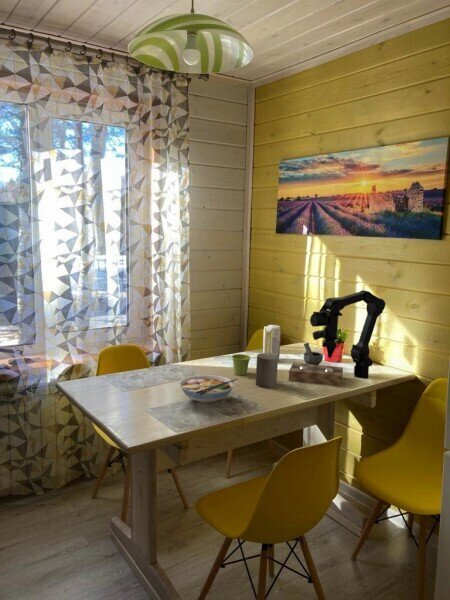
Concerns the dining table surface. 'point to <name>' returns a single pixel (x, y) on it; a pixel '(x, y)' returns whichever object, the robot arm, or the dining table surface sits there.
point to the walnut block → (316, 374)
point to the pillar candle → (266, 370)
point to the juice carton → (271, 340)
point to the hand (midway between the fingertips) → (329, 357)
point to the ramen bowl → (206, 387)
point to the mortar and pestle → (312, 356)
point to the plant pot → (240, 363)
